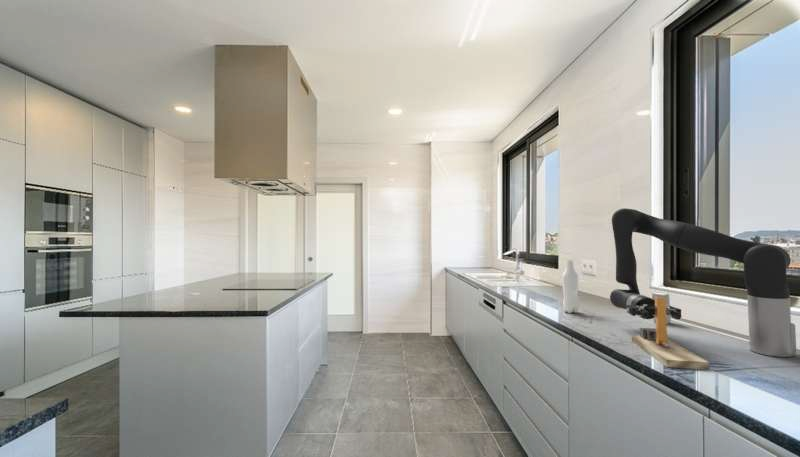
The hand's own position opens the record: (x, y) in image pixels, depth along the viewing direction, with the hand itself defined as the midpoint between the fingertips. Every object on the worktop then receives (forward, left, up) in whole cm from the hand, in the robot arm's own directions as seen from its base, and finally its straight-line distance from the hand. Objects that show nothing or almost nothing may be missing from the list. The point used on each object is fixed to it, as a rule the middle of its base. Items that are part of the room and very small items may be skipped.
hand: (663, 315), depth 113 cm
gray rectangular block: (0, -8, -10) cm, 12 cm away
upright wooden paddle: (0, -2, -9) cm, 9 cm away
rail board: (0, +1, -12) cm, 12 cm away
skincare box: (-17, -44, -12) cm, 49 cm away
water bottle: (+15, -60, -12) cm, 63 cm away
